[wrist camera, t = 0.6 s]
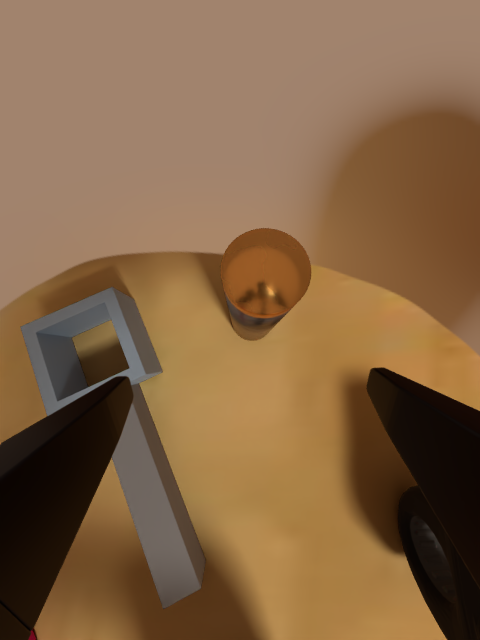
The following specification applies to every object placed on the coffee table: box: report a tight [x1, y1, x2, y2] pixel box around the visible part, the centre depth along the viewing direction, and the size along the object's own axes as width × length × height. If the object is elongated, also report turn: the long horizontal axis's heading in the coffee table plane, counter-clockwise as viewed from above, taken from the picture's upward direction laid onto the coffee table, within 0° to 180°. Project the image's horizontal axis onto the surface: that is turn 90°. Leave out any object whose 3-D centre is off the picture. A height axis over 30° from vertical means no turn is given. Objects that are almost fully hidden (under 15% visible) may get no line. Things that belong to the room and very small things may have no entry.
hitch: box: [21, 287, 206, 609], centre depth 19 cm, size 24×8×4 cm, turn 25°
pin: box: [221, 228, 311, 341], centre depth 16 cm, size 4×4×13 cm
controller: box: [398, 486, 480, 640], centre depth 15 cm, size 4×12×10 cm, turn 2°
